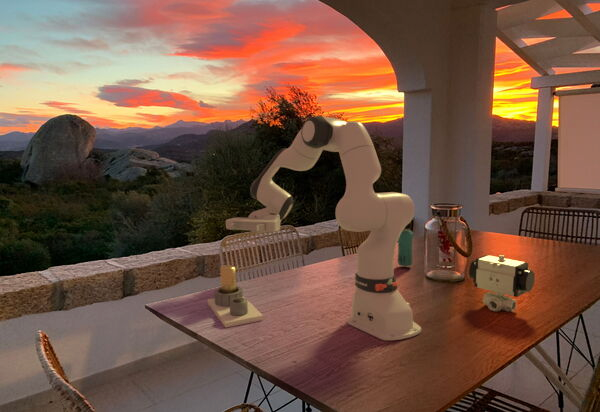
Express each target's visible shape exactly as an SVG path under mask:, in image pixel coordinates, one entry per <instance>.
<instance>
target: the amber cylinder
mask: <svg viewBox="0 0 600 412" xmlns="http://www.w3.org/2000/svg"><path fill="white" fill-rule="evenodd" d="M219 272H220V287H221V293H223V294H230V293H235V292H236V286H237V269H236V265H233V264H227V265H226V264H225V265H221V266H220V271H219Z"/></svg>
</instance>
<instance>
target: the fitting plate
mask: <svg viewBox="0 0 600 412" xmlns="http://www.w3.org/2000/svg"><path fill="white" fill-rule="evenodd" d="M213 292H214V293H213V294H214V298H209V299H207V305H208V307H209V308H210V309H211V310H212V312H213V313H214V315H215V316H216V317H217V318H218V320H219V321H220V322H221V324H222V325H223V326H224V327H225V328H230V327H236V326H240V325H245V324H250V323H255V322H260V321H263V320H264V314H262V313H261V311H259V310H258V309H257V308H256V307H255V306H254V304H252V303H251V302H250V301H249V300H248V299H247V298H246V297H245V296H244V289H243V288H242V287H241V286H239V285H236V292H235V293H230V294H223V293H221V286H220V287H217V288H216V289H215V290H214V291H213Z"/></svg>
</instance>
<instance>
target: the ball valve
mask: <svg viewBox="0 0 600 412" xmlns="http://www.w3.org/2000/svg"><path fill="white" fill-rule="evenodd" d="M468 274H469V278H470V279H472V282H473V283H474V286H473V287H475V288H477V289H482V290H487V291H489V292H485V293H484V294H483V297H482V302H483V304H484V305H486V306H487V308H488V309H489V310H490V311H491V312H492V311H493V312H500V311H501V310H502V311H505V312H514V311H515V310H516V308H517V300H516V299H513V298H512V297H515V298H518V297H520V296H522V295H524V294H526V293H530V292H531V291H532V290H533V287H534V285H535V279H536V278H535V277H536V276H535V272H534V270H530V267H529V262H526V261H519V260H515V259H510V258H505V255H502V254H499V255H498V256H494V255H488V254H485V255H482V256H479V257H477V258H475V259H473V260H472V261H471V263H470V265H469V269H468Z"/></svg>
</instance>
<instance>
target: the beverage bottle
mask: <svg viewBox="0 0 600 412" xmlns="http://www.w3.org/2000/svg"><path fill="white" fill-rule="evenodd" d="M411 224H412V223H411V222H410V223H408V224H407V226H406V227H405V228H404V229H403V231H402V233H401V234H400V237H399V239H398V241H397V245H398V246H397V248H398V249H397V264H398V265H399V266H400V267H401V266H402V267H410V266H413V257H414V256H413V255H414V254H413V253H414V249H413V244H414V240H413V239H414V233H413V232H412V230H410V229H411V228H412V226H411Z"/></svg>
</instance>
